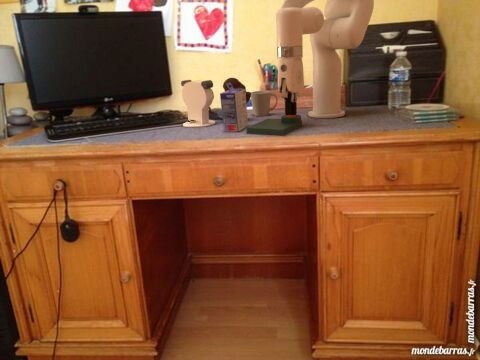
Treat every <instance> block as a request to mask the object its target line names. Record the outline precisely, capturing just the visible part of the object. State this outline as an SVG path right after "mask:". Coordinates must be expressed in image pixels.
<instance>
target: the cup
mask: <svg viewBox="0 0 480 360" xmlns="http://www.w3.org/2000/svg"><path fill="white" fill-rule="evenodd" d="M250 93H251V98H250V101H251V106H252V107H251V108H252V113H253V115H254V116H255V117H265V116H269V115H270V112H272V111H273V110H275V109H276V108H277V105H278V101H279V100H278V97H277V95H276V94H275V93H274V92H271V91H270V90H256V91H255V90H254V91H251V92H250ZM272 96H273V97H274V98H275V100H276V101H275V105H273V106H272V107H271V97H272Z"/></svg>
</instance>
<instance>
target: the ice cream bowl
mask: <svg viewBox="0 0 480 360" xmlns="http://www.w3.org/2000/svg"><path fill="white" fill-rule="evenodd" d="M226 83H231V84H232V86H233V88H234V89H245V92H246V104H247V105H248V103H249V102H250V101H251V92H250V91H247V88H246V86H245V85H244V84H243V83H242V82H241V81H240V80H239V79H238V78H237V77H228V78H227V79H225V80H224V81H223V84H222V88H223V90H224V92H225V91H227V90H229V89H228V87H227V85H226ZM230 87H231V85H229V88H230Z"/></svg>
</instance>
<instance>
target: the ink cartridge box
mask: <svg viewBox="0 0 480 360" xmlns="http://www.w3.org/2000/svg"><path fill="white" fill-rule="evenodd" d="M226 85H227V87H228V89H229V90H227V91H225V90H224V91H223V92H221V93H219V99H220V107H221V108H220V109H221V116H222V125H223V132H224V133H238V132H239V133H240V132H241V131H242V130H243V129H246V128H247V127H249V118H248V109H247V108H248V106H247V105H248V103H247V104H246V92H247V91H246V92H245V89H234V88H233V86H232V84H231V83H226ZM229 85H231V87H230V88H229Z"/></svg>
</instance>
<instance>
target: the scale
mask: <svg viewBox="0 0 480 360" xmlns="http://www.w3.org/2000/svg"><path fill="white" fill-rule="evenodd" d="M302 126H303V119H302V115H300V114H296V117H286V115H285V114H284V115H281V116H280V118H270V117H269V118H265V119H264V120H261V121H259V122H257V123H255V124H252V125H250V126H249V125H248V126H246V134H247V135H248V134H249V135H261V136H279V137H284V136H286V135H287V134H289V133H291V132H293V131H295V130H296V129H299V128H300V127H302Z"/></svg>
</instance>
